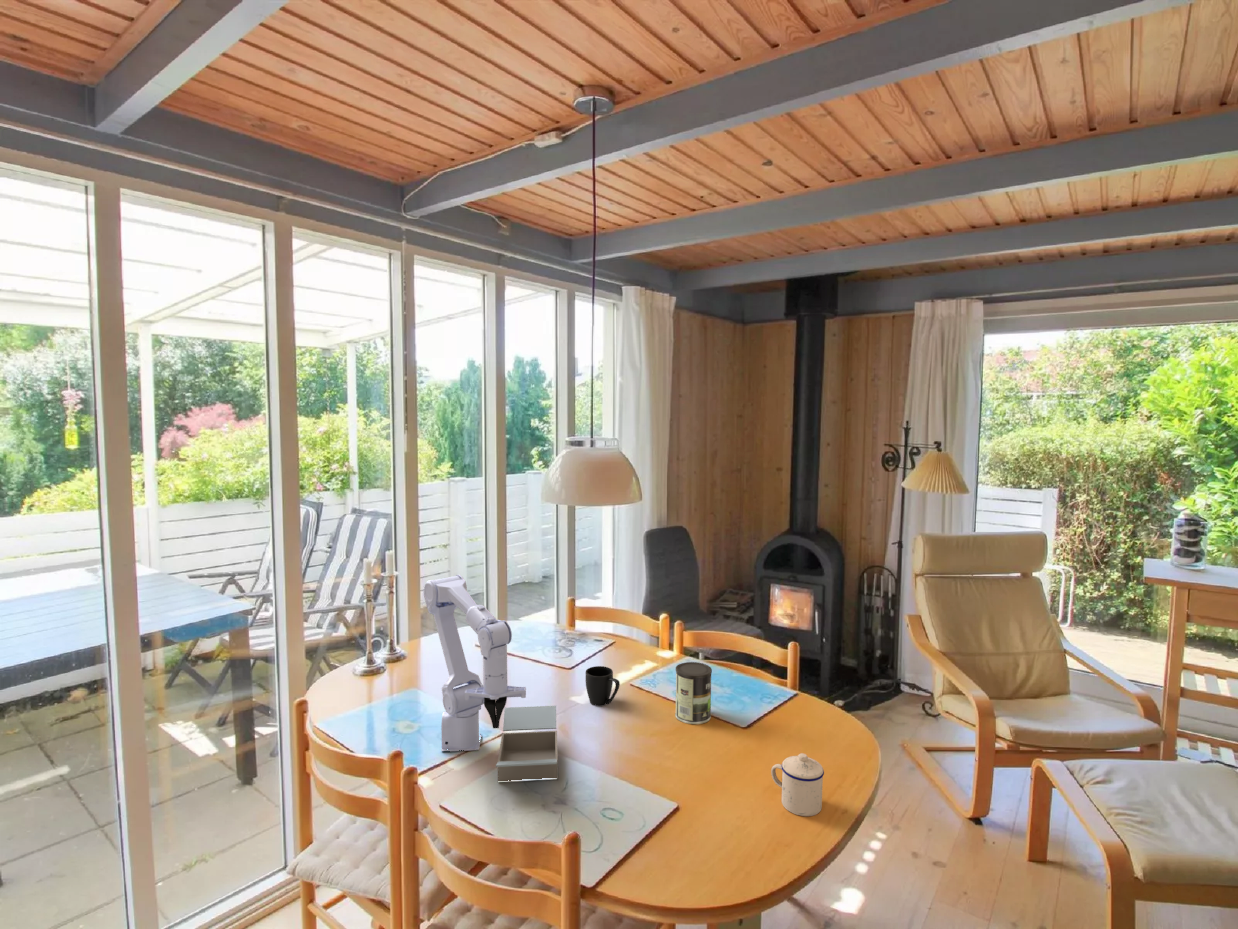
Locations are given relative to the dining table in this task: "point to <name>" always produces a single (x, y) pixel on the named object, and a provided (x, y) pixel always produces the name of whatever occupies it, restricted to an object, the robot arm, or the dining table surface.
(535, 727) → the far flap
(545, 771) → the carton
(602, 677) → the mug
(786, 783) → the teacup with lid
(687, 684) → the coffee can
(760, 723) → the dining table surface
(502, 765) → the near flap
